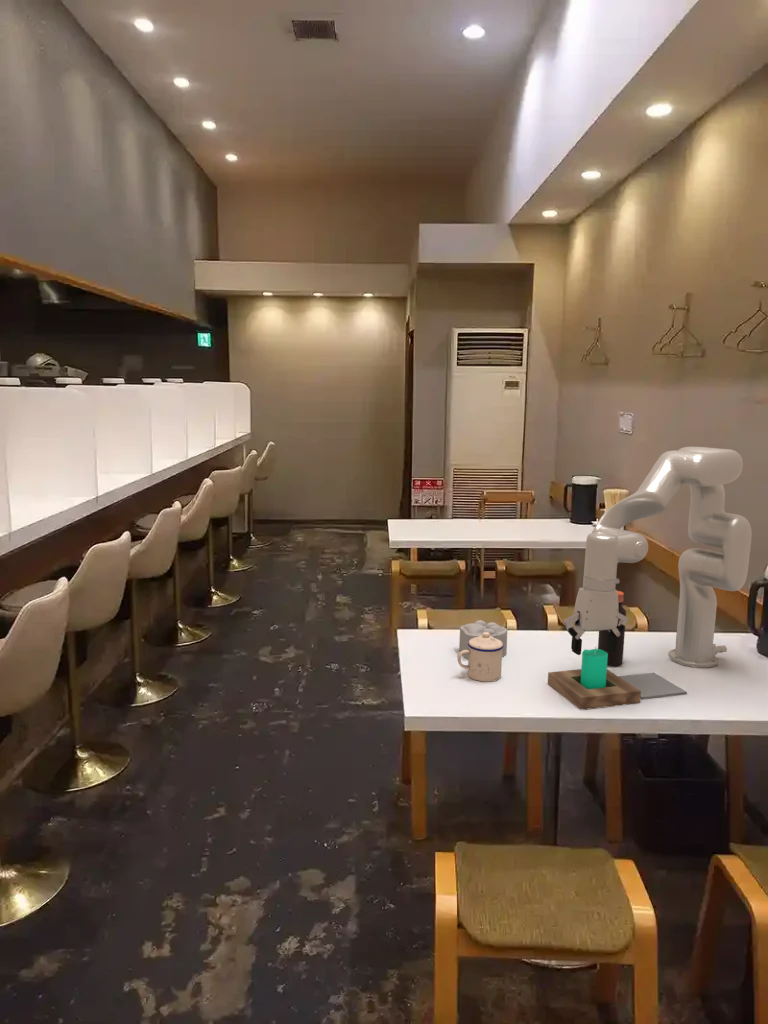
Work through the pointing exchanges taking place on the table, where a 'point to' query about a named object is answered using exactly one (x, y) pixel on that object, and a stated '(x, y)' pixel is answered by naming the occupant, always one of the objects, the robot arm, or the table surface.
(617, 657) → the bottle
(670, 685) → the mat
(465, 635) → the lumpy-topped squat cylinder
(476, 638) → the teacup with lid
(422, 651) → the table surface
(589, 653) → the candle
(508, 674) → the table surface
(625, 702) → the stand
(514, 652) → the table surface
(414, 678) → the table surface
